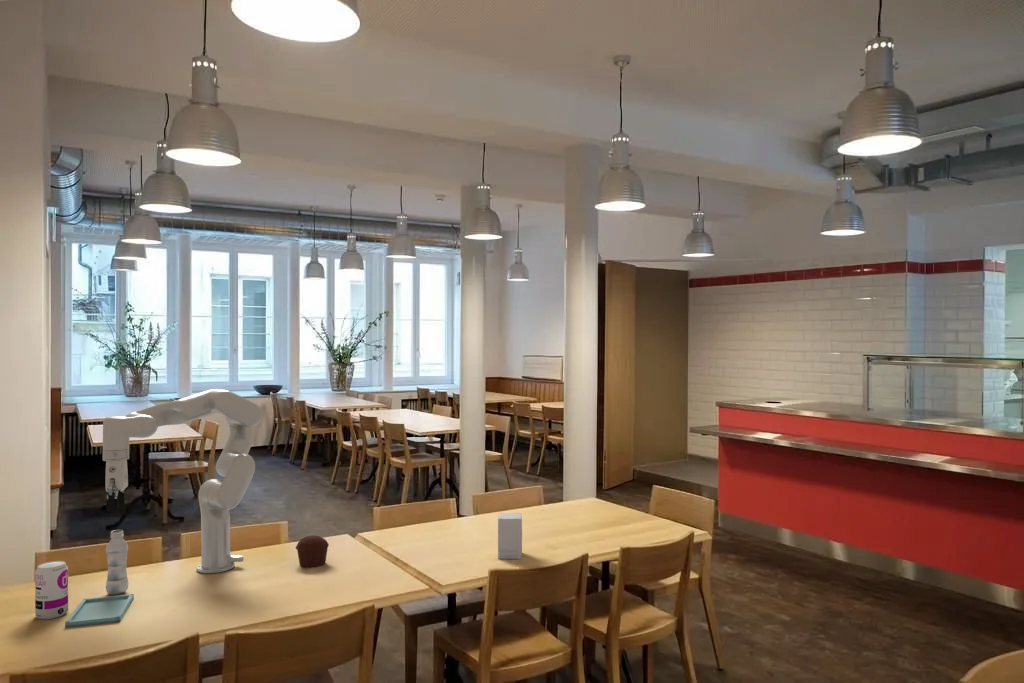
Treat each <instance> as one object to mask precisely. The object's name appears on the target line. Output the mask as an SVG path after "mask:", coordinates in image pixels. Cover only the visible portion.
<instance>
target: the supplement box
mask: <svg viewBox="0 0 1024 683" xmlns="http://www.w3.org/2000/svg"><path fill="white" fill-rule="evenodd" d="M522 516H523V515H522V513H506V512H505V513H502V512H501V513H498V518H497V559H498V560H499V559H501V560H506V559H509V560H510V559H511V560H521V559H522V558H523V557H522V556H523V555H522V554H523V519H522V518H523V517H522Z"/></svg>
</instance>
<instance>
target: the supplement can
mask: <svg viewBox="0 0 1024 683" xmlns="http://www.w3.org/2000/svg"><path fill="white" fill-rule="evenodd" d="M34 586H35V587H34V588H35V590H34V594H35V595H34V598H35V599H34V601H35V602H34V603H35V607H34V608H35V609H34V611H35V612H34V613H35V617H36V618H38V619H39V620H52V619H56V618H61V617H63V616H64V615H66V613H67V612H68V611H69V566H68V565H67V564H66V561H64V560H54V561H47V562H43V563H40V564H38V565H37V568H36V569H35V571H34Z"/></svg>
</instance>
